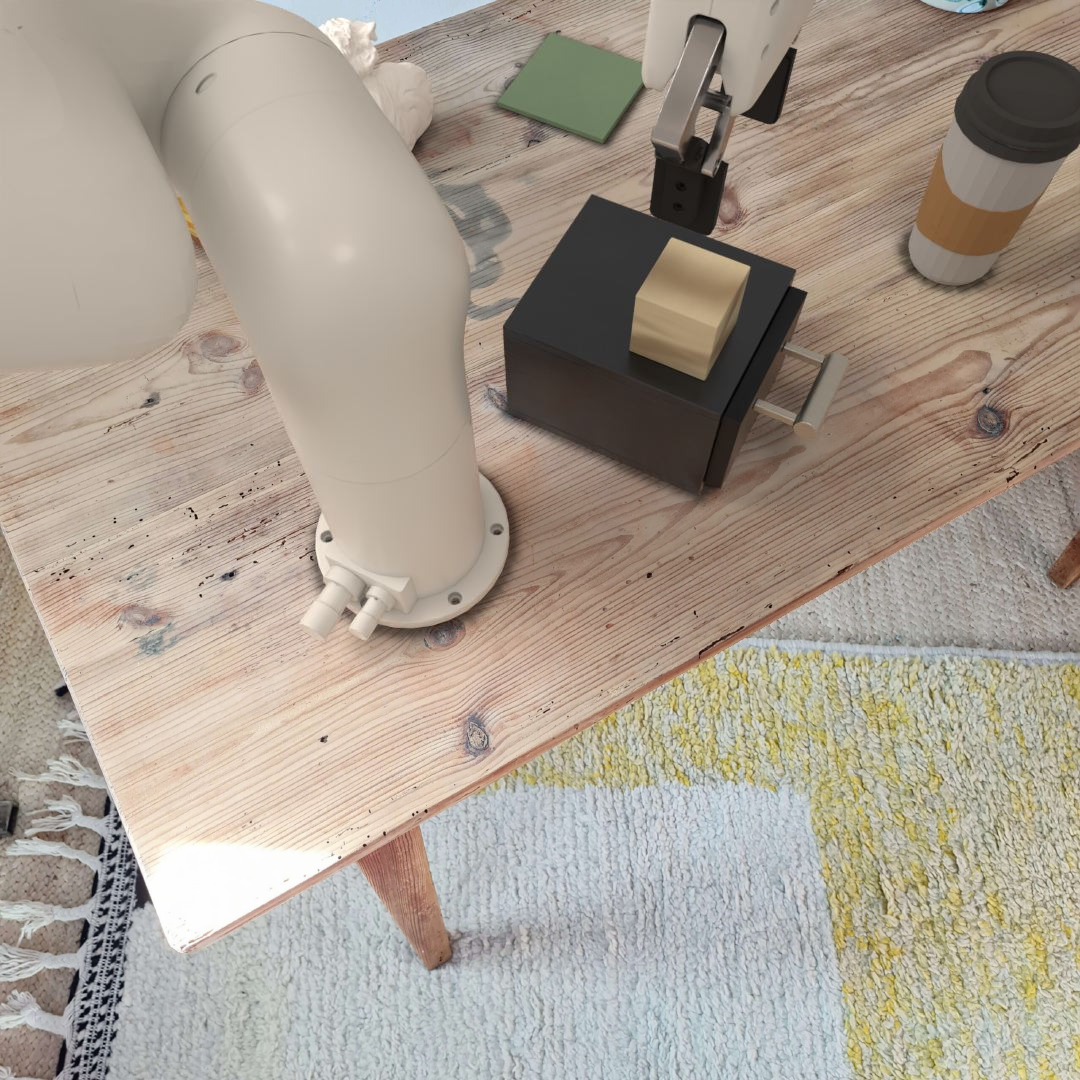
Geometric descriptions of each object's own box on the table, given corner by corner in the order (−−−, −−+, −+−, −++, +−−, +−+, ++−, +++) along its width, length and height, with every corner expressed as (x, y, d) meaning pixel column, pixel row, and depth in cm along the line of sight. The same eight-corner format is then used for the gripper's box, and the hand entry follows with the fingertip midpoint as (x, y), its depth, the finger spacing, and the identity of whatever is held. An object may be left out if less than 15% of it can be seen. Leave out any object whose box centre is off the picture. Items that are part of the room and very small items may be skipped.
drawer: (839, 388, 69) (872, 315, 62) (781, 515, 64) (809, 452, 57) (611, 298, 72) (617, 220, 65) (540, 412, 68) (539, 341, 61)
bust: (429, 133, 85) (362, -1, 79) (470, 123, 79) (401, -23, 73) (318, 202, 81) (240, 67, 76) (353, 198, 75) (271, 50, 69)
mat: (603, 144, 81) (603, 139, 80) (497, 106, 83) (497, 101, 83) (652, 71, 85) (653, 66, 84) (550, 37, 87) (550, 32, 87)
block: (704, 381, 58) (717, 327, 54) (628, 351, 59) (635, 295, 55) (736, 322, 60) (751, 266, 56) (662, 294, 61) (671, 236, 57)
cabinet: (766, 361, 71) (797, 269, 62) (698, 496, 66) (720, 415, 57) (586, 290, 74) (591, 193, 65) (507, 413, 69) (502, 325, 60)
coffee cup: (1003, 306, 73) (1106, 143, 59) (890, 289, 74) (966, 124, 60) (1002, 224, 77) (1099, 53, 63) (894, 209, 77) (967, 37, 64)
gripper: (786, -388, 37) (714, 39, 52) (579, -151, 30) (568, 259, 45) (982, -345, 35) (847, 82, 51) (813, -84, 28) (718, 317, 44)
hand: (716, 164), depth 48 cm, fingers open, 7 cm apart
